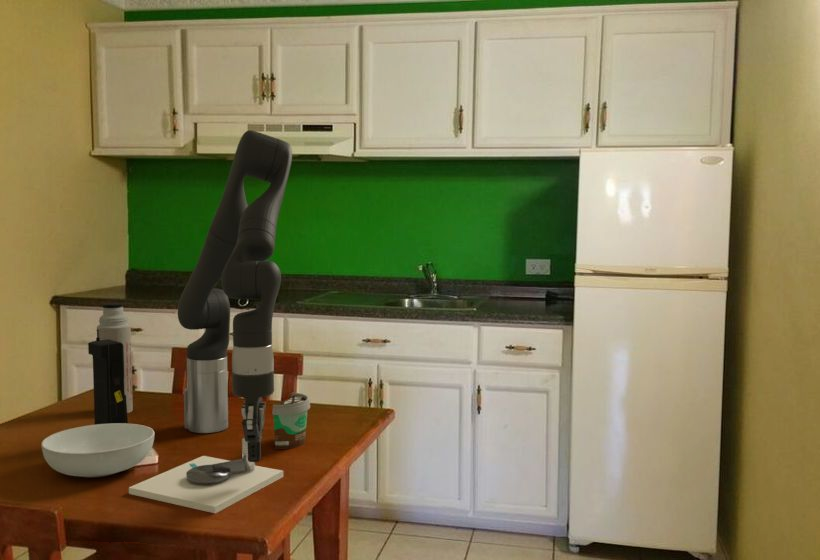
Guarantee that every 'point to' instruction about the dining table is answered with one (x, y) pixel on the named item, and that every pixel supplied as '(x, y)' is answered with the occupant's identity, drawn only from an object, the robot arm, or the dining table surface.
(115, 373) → the portable radio
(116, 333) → the thermos bottle
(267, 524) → the dining table surface
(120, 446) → the serving bowl
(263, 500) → the dining table surface
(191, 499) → the dial plate
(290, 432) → the food container
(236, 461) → the dial
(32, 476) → the dining table surface
